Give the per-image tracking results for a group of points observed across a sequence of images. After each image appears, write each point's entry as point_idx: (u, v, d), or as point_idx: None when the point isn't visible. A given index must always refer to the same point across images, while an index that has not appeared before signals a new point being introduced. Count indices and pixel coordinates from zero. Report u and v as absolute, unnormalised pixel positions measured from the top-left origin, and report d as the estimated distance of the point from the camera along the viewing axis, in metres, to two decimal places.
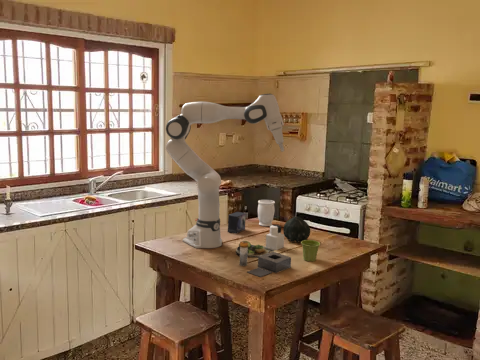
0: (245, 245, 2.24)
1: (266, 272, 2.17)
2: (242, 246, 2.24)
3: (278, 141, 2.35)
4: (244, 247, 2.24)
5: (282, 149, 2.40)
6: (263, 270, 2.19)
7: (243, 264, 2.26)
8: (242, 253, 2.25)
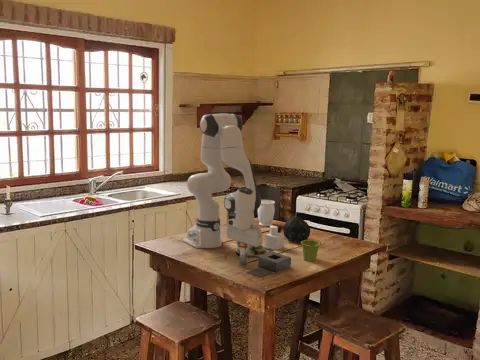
0: (245, 245, 2.24)
1: (266, 272, 2.17)
2: (242, 246, 2.24)
3: None
4: (244, 247, 2.24)
5: None
6: (263, 270, 2.19)
7: (243, 264, 2.26)
8: (242, 253, 2.25)
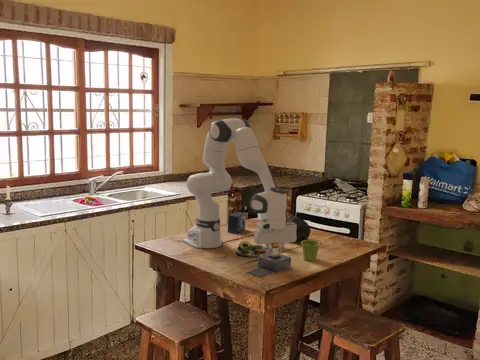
0: None
1: (266, 272, 2.17)
2: (277, 246, 2.23)
3: (254, 240, 2.21)
4: (278, 247, 2.23)
5: (268, 250, 2.23)
6: (263, 270, 2.19)
7: None
8: (277, 253, 2.23)
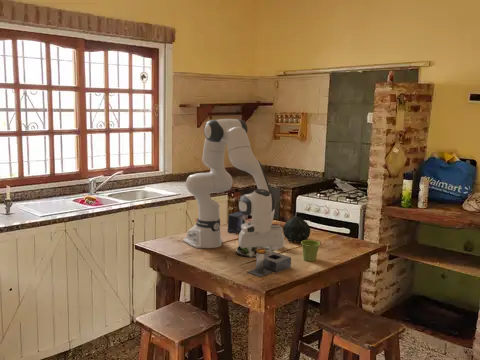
0: (264, 250, 2.16)
1: (266, 272, 2.17)
2: (263, 252, 2.15)
3: (238, 243, 2.13)
4: (264, 253, 2.16)
5: (250, 254, 2.15)
6: None
7: (263, 270, 2.17)
8: (263, 259, 2.16)
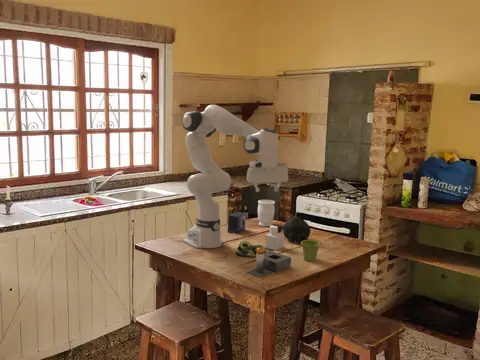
0: (264, 250, 2.16)
1: (266, 272, 2.17)
2: (263, 252, 2.15)
3: (247, 179, 2.26)
4: (263, 253, 2.16)
5: (256, 189, 2.28)
6: None
7: (263, 270, 2.17)
8: (262, 259, 2.16)
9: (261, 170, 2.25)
